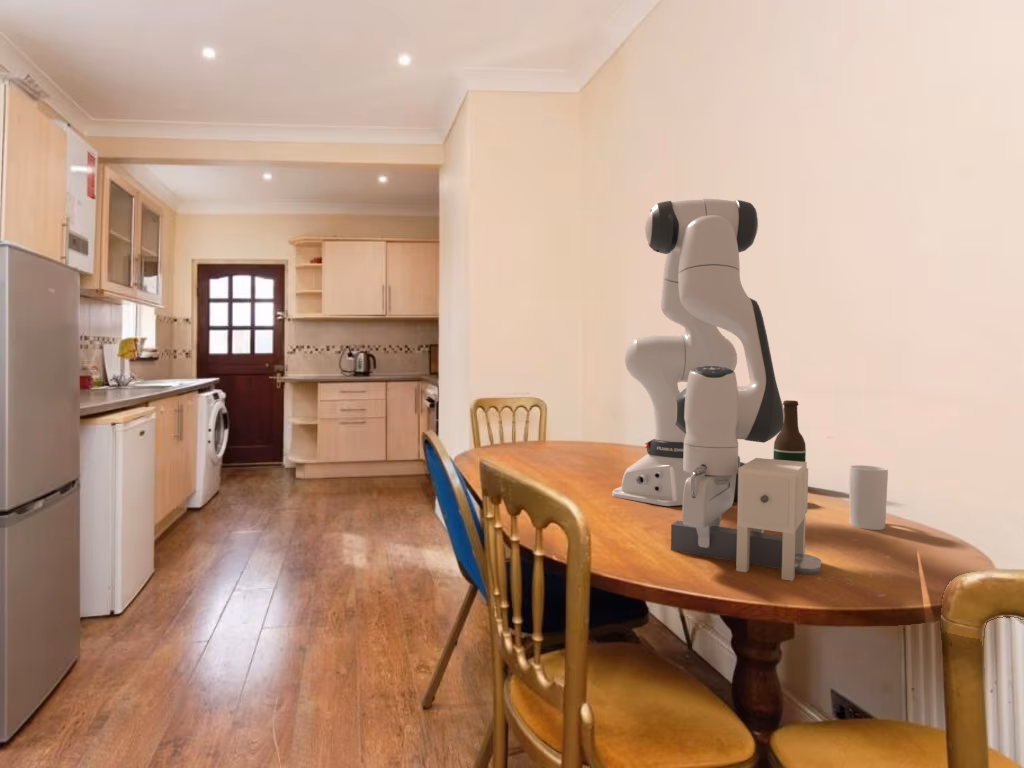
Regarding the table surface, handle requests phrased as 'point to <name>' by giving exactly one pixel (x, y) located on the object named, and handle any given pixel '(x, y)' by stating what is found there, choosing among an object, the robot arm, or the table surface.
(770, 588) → the table surface
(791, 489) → the cabinet
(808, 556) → the steel disc
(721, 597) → the table surface
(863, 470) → the mug
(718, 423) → the robot arm
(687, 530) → the charcoal bar
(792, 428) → the beer bottle
